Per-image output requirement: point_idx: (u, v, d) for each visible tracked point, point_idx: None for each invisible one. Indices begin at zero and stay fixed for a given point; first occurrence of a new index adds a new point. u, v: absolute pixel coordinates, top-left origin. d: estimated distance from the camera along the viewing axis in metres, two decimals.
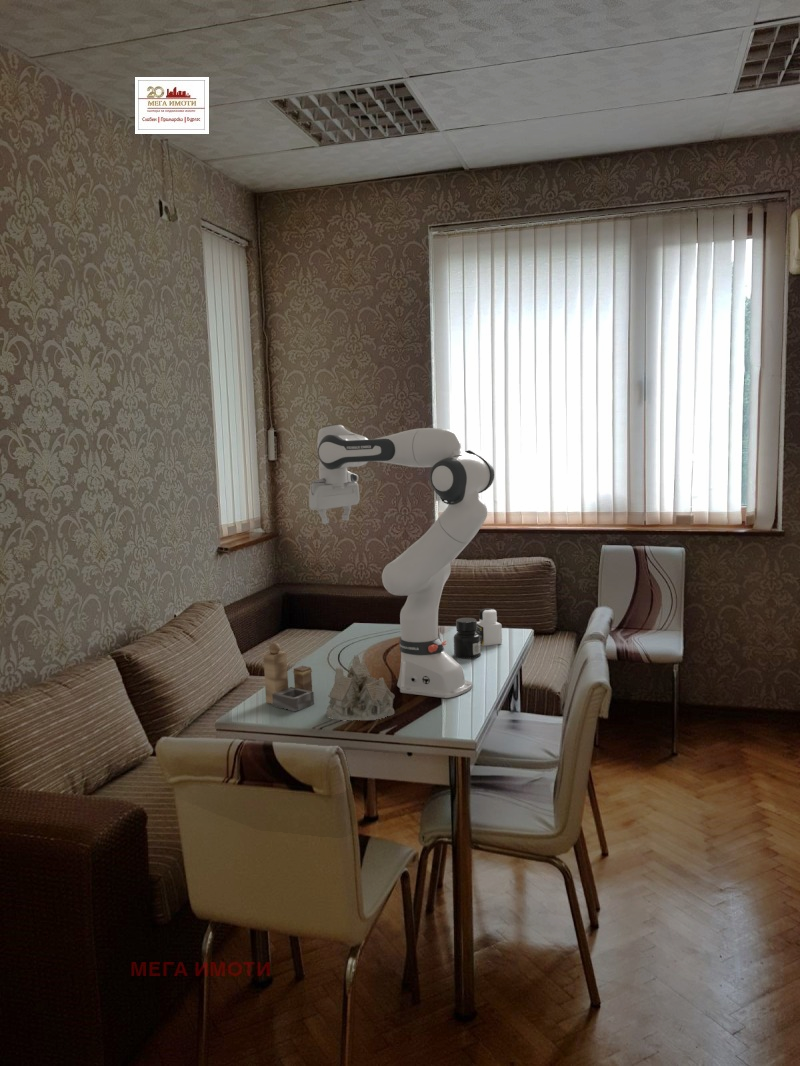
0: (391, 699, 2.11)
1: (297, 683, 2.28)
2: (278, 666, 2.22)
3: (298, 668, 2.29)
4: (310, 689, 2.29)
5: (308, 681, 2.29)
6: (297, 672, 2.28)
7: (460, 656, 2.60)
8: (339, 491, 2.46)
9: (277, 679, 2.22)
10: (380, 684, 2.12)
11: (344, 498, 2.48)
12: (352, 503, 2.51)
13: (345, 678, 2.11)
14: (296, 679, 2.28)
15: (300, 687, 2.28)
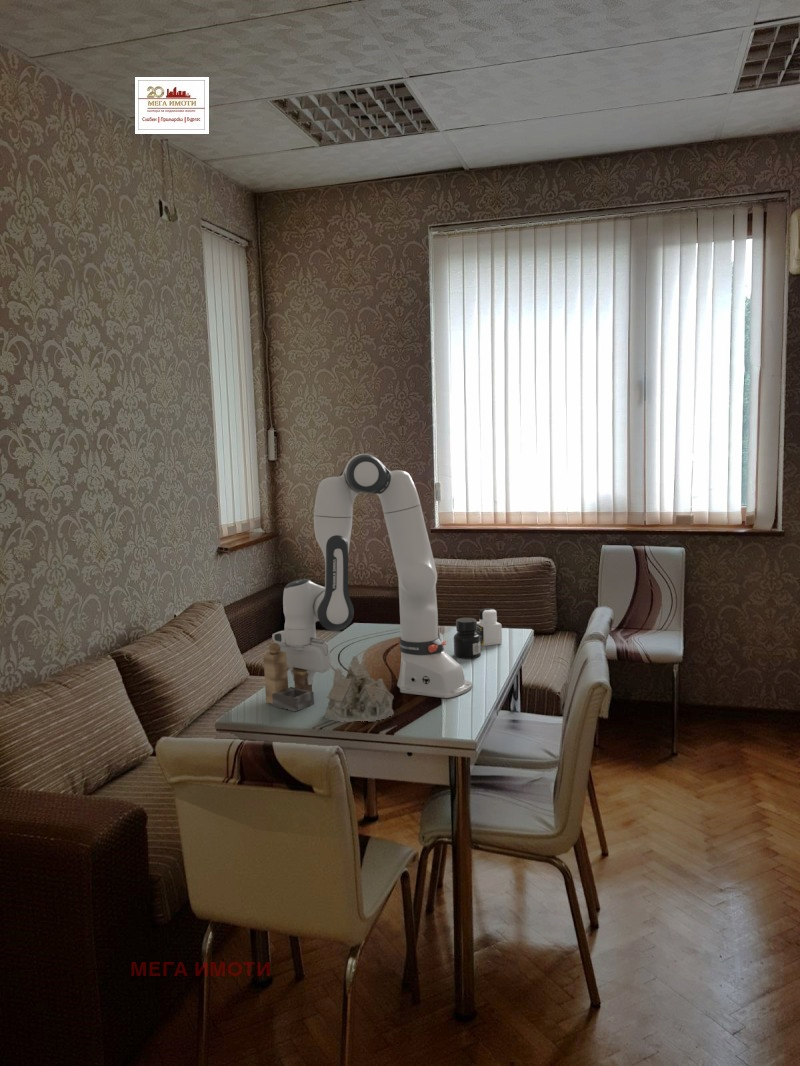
0: (390, 700, 2.10)
1: (297, 683, 2.28)
2: (278, 666, 2.22)
3: (298, 668, 2.29)
4: (310, 689, 2.29)
5: None
6: (297, 672, 2.28)
7: (460, 656, 2.60)
8: None
9: (277, 679, 2.22)
10: (379, 685, 2.11)
11: None
12: None
13: (344, 679, 2.10)
14: (296, 679, 2.28)
15: (300, 686, 2.28)
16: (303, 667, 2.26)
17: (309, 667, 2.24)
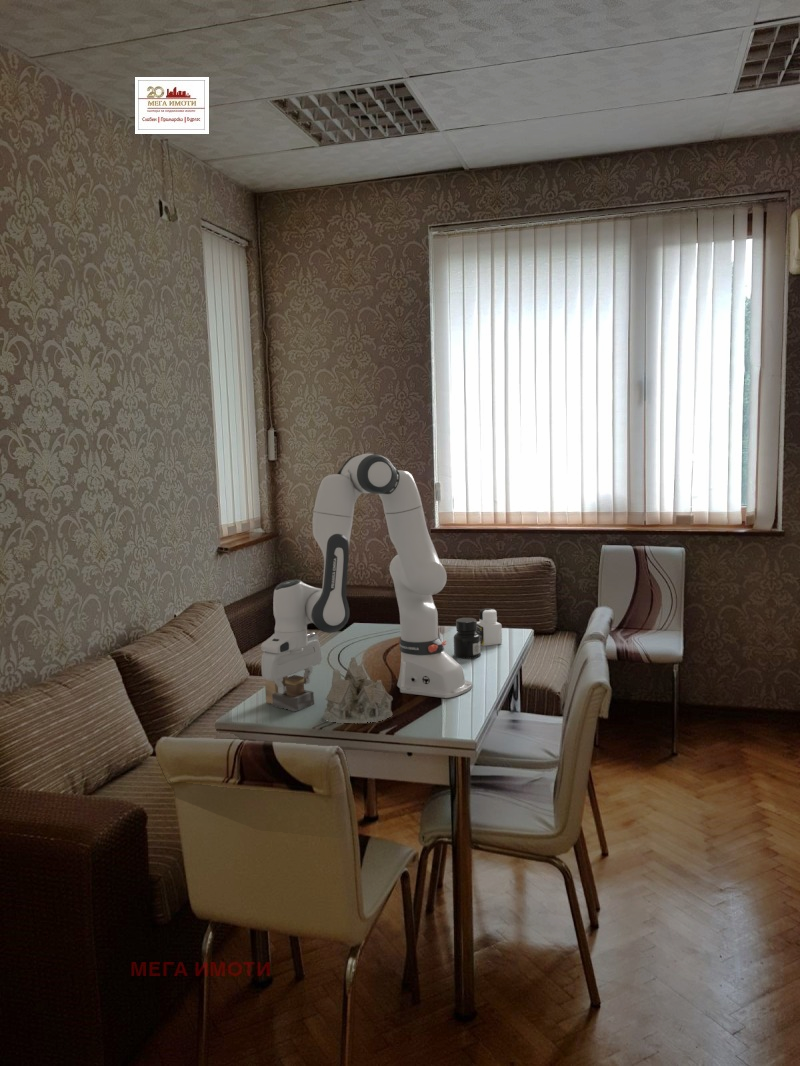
0: (389, 702, 2.09)
1: (298, 693, 2.19)
2: None
3: (295, 678, 2.19)
4: None
5: None
6: (298, 681, 2.19)
7: (460, 656, 2.60)
8: None
9: None
10: (378, 686, 2.10)
11: None
12: None
13: (343, 681, 2.09)
14: (297, 690, 2.19)
15: None
16: (303, 667, 2.20)
17: (309, 664, 2.22)
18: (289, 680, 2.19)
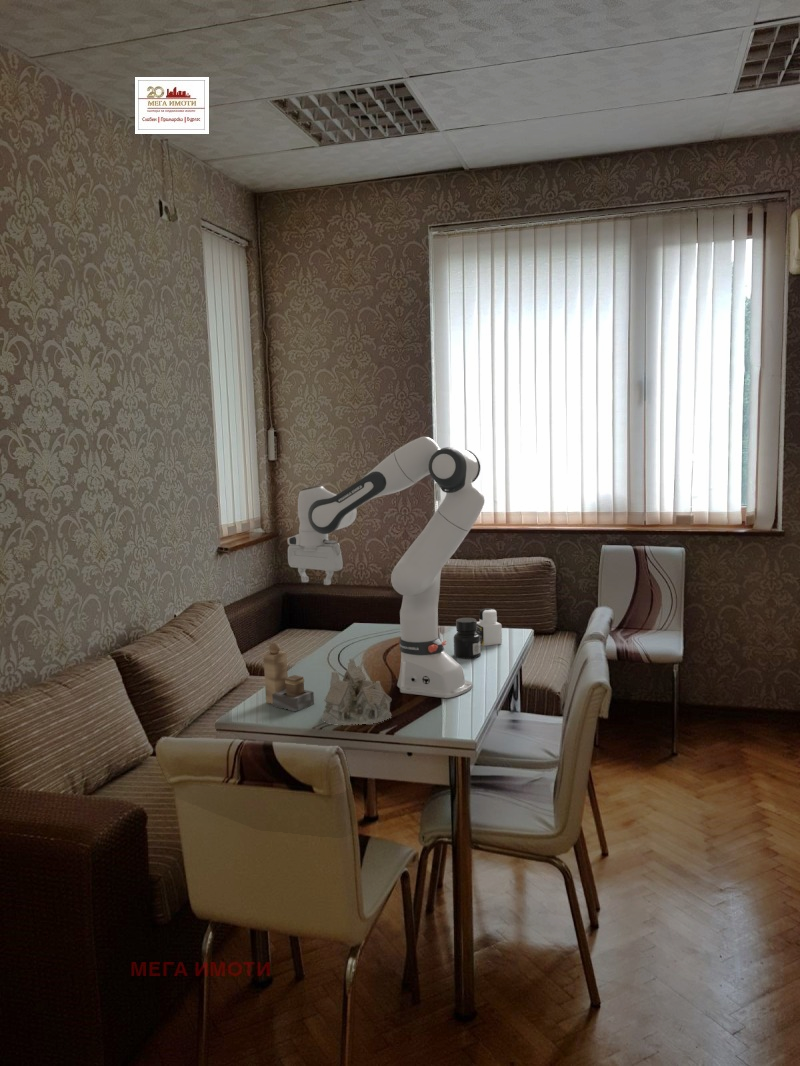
0: (388, 703, 2.08)
1: (298, 693, 2.19)
2: (278, 666, 2.22)
3: (295, 678, 2.19)
4: None
5: None
6: (298, 681, 2.19)
7: (460, 656, 2.60)
8: None
9: (277, 679, 2.22)
10: (377, 688, 2.09)
11: None
12: None
13: (341, 682, 2.08)
14: (297, 690, 2.19)
15: None
16: (316, 567, 2.42)
17: (322, 567, 2.40)
18: (289, 680, 2.19)
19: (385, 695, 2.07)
